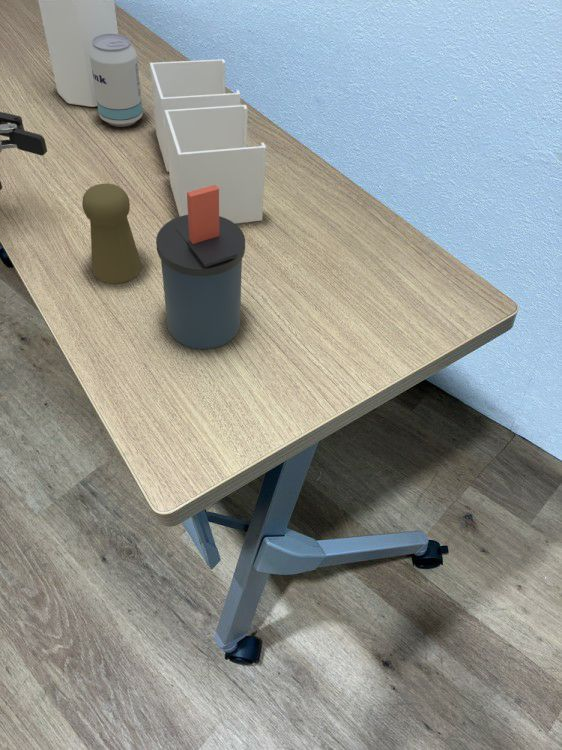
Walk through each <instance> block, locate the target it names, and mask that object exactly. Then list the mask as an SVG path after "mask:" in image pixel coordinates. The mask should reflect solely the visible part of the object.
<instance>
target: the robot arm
mask: <svg viewBox="0 0 562 750" xmlns="http://www.w3.org/2000/svg"><path fill="white" fill-rule="evenodd" d="M0 136H2V137H6V138H8V139H0V154H1V152H2V151H3V150H7V149H16V148H17V150H19V151H24V152H28V153H31V154H35V155H37V156H44V155H45V154H47V153H48V147H47V144H46V139H45V138H44V136H43V135H42V134H39V133H35V132H33V131H28V130H26V129H25V127H24V124H23V118H22V117H21V116H20V115H17V114H13V113H7V112H2V111H0ZM2 190H3V185H2V182H1V180H0V191H2Z"/></svg>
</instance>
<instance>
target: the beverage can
mask: <svg viewBox="0 0 562 750" xmlns="http://www.w3.org/2000/svg"><path fill="white" fill-rule="evenodd" d="M131 41H132V40H131V39H130V37H128V36H126V35H123V34H119V33H118V34H103V35H99V36H97V37H95V38H94V39H93V40H92V47H91V50H90V53H89V56H90V62H91V68H92V74H93V81H94V87H95V93H96V99H97V106H96V107H97V111H98V116H99V118H100V119H101V120H102V121H104V122H106V123H108V124H109V125H110V126H113V127H118V128H124V127H125V128H126V127H131V126H132V125H134V124H135V123H137V121H139V120H140V119H141V118H142V117H143V114H144V113H143V112H144V111H143V101H142V92H141V83H140V72H139V62H138V54H137V51H136V49H135V48H134V46H133V44H132V42H131Z"/></svg>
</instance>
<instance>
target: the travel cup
mask: <svg viewBox="0 0 562 750" xmlns="http://www.w3.org/2000/svg"><path fill="white" fill-rule="evenodd" d="M219 233H220V234H221V235H222V236H223V237H224V239H225V240H226V241H227V242H228V243H229V245H230V246H231V247H232V248H233V249H234V251H235V252H236V253H237V257H235V258H232V259H229V260H226V261H223V262H220V263H217V264H214V265H210V266H207V267H204V266H203V265H202V263H201V262H200V261H199V260H198V258H197V257H196V256H195V254H194V253H193V252H192V250H191V249H190V248H189V246H188V245H187V241H188V240H189V225H188V215H184V216H178V217H175V218H173V219H170V220H169V221H167V222H166V223H165V224H163V226H162V227H160V229H159V231H158V233H157V235H156V240H155V245H156V252H157V255H158V257H159V259H160V263H161V275H162V283H163V292H164V293H163V294H164V303H165V304H164V305H165V313H166V323H167V329H168V332H169V334H170V335H171V337H172V338H173V339H174V340H175V341H176V342H178V344H181V345H182V346H185V347H188V348H191V349H196V350H210V349H216V348H219V347H222V346H224V345H227V344H228V343H229V342H231V341H232V340H233V339H234V338H235V337H236V335H237V334H238V333H239V331H240V327H241V303H242V269H243V268H242V267H243V265H242V264H243V258H244V256H245V254H246V253H245V252H246V251H245V250H246V237H245V234H244V232H243V231H242V229H241V228H240V227H239V226H238V225H237V223H233V222H232V221H230V220H228V219H226V218H223V217H221V216H219Z"/></svg>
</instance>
